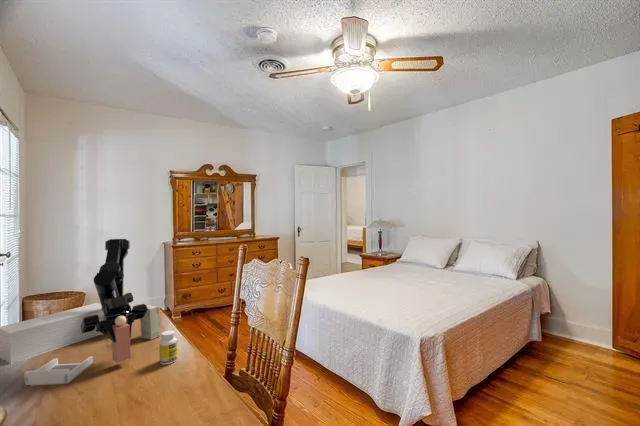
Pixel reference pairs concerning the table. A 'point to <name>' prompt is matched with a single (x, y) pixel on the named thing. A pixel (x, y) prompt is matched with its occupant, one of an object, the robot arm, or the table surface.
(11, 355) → the ridged white long block
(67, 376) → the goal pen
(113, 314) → the robot arm
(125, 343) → the foosball player
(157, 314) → the skincare box
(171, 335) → the supplement bottle
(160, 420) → the table surface
